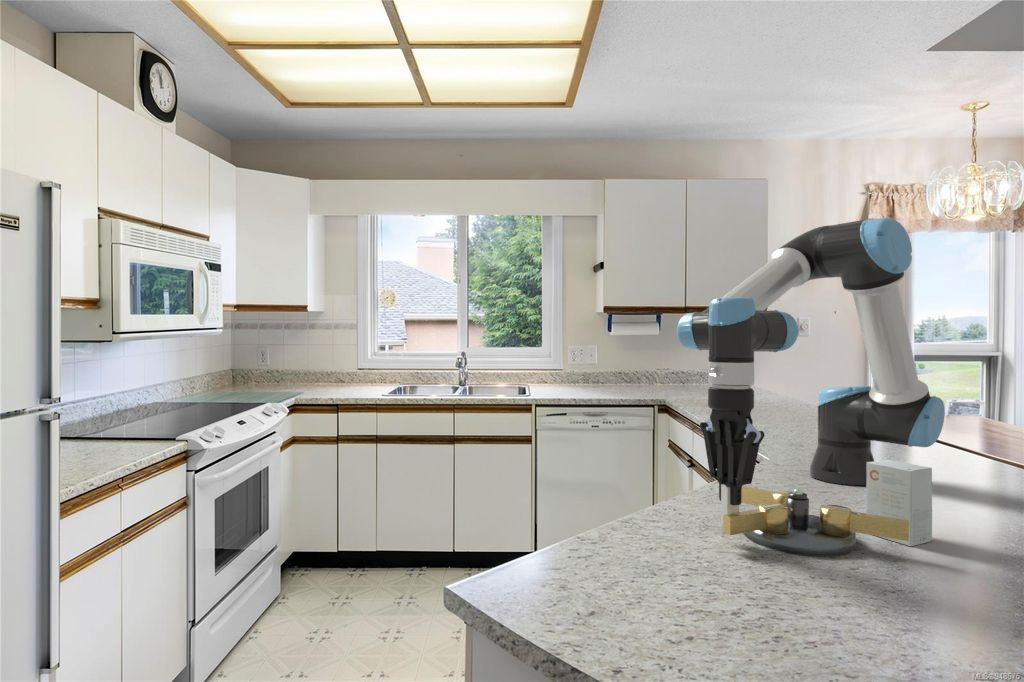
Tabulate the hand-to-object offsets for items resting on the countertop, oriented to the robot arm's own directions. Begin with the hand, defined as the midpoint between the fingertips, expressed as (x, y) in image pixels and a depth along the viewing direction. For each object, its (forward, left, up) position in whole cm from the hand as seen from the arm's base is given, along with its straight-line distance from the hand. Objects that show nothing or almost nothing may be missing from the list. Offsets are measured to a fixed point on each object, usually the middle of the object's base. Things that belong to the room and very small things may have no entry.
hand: (729, 521), depth 105 cm
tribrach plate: (-3, +13, -4) cm, 13 cm away
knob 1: (-12, +10, -1) cm, 16 cm away
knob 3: (+2, +21, -1) cm, 21 cm away
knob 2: (+2, +4, -1) cm, 4 cm away
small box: (-5, +31, -4) cm, 31 cm away
